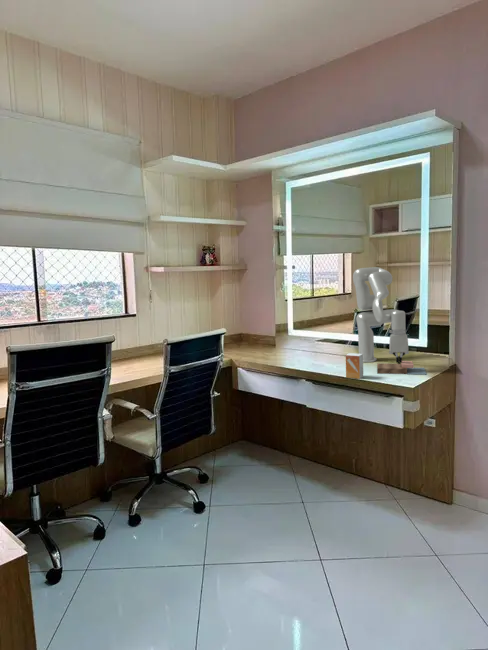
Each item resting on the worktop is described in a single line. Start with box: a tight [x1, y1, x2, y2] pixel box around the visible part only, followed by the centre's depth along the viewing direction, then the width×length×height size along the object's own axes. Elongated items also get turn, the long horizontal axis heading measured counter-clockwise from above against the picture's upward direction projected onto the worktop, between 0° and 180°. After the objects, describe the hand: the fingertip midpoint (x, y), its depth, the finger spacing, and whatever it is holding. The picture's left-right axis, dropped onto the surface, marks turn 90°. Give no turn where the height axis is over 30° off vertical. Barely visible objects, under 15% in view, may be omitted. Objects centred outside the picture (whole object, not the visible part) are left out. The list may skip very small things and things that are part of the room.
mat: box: [406, 367, 427, 376], centre depth 248 cm, size 10×15×1 cm, turn 163°
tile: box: [401, 360, 414, 368], centre depth 249 cm, size 6×9×2 cm, turn 163°
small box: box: [345, 352, 364, 380], centre depth 243 cm, size 8×6×13 cm
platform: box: [376, 362, 408, 375], centre depth 252 cm, size 16×13×3 cm
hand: (399, 363), depth 250 cm, fingers closed
